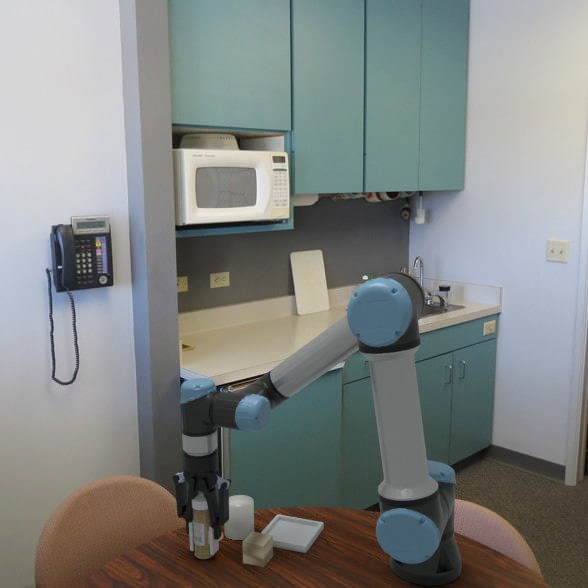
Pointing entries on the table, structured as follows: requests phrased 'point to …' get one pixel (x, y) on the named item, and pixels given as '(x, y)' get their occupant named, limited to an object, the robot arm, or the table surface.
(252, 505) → the frosted white cylinder
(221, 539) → the cork coaster
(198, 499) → the sprinkles bottle
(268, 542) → the maple block
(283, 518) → the tray
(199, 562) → the table surface
